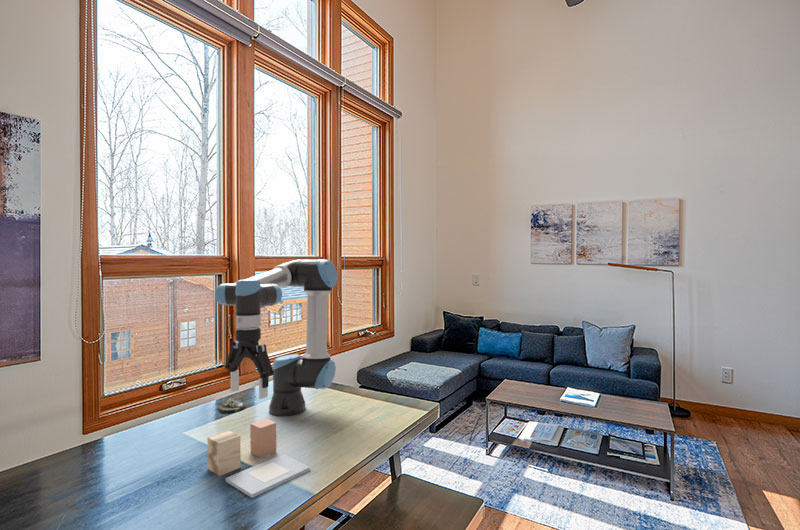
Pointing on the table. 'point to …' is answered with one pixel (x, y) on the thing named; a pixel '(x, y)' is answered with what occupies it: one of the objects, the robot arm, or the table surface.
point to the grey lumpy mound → (231, 406)
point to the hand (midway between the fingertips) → (248, 394)
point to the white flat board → (267, 475)
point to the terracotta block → (263, 438)
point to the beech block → (224, 452)
